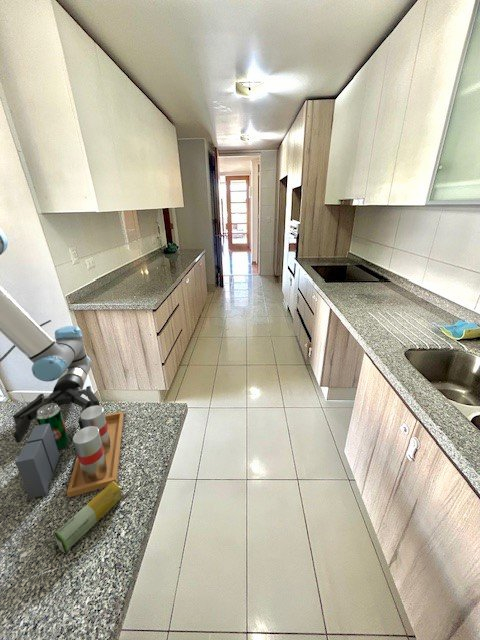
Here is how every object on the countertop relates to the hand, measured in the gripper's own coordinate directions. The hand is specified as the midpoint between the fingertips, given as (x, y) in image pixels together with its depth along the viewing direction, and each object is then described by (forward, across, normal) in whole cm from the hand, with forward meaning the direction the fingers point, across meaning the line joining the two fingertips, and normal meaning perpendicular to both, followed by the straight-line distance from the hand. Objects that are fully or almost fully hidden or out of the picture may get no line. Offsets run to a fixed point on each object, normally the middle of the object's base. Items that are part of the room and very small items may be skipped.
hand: (49, 431), depth 65 cm
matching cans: (+7, -11, -6) cm, 14 cm away
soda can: (-3, 0, -7) cm, 8 cm away
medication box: (+22, -12, -7) cm, 26 cm away
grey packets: (+7, 0, -7) cm, 10 cm away
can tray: (+3, -11, -7) cm, 13 cm away
